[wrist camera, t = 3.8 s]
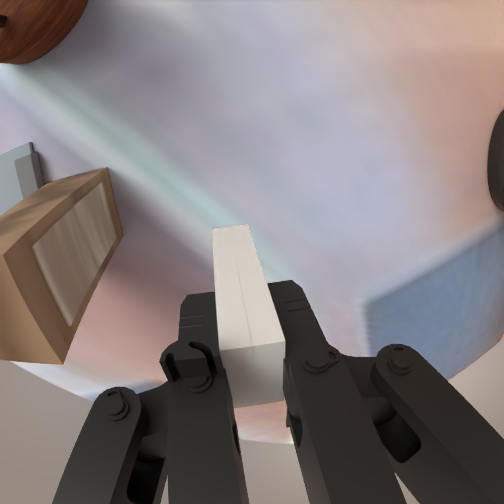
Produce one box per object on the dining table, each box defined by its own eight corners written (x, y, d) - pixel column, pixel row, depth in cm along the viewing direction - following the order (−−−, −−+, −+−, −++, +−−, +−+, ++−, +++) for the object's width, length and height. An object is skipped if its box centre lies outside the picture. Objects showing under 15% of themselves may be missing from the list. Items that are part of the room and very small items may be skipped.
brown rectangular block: (109, 166, 20) (5, 254, 8) (124, 234, 23) (65, 364, 10) (48, 182, 19) (-61, 269, 7) (66, 244, 22) (-9, 358, 10)
